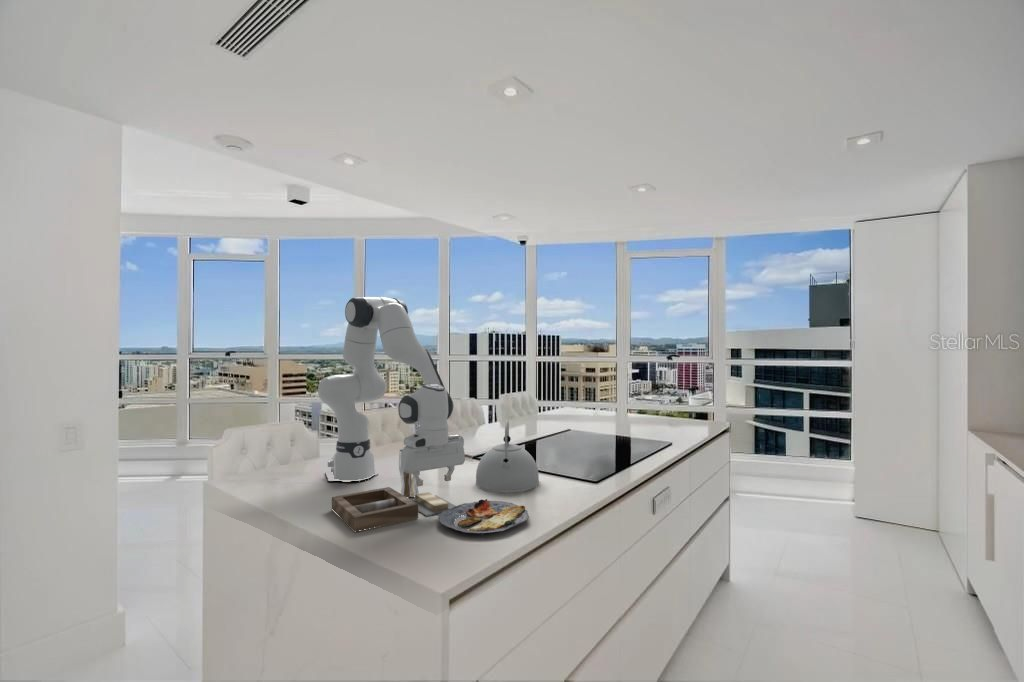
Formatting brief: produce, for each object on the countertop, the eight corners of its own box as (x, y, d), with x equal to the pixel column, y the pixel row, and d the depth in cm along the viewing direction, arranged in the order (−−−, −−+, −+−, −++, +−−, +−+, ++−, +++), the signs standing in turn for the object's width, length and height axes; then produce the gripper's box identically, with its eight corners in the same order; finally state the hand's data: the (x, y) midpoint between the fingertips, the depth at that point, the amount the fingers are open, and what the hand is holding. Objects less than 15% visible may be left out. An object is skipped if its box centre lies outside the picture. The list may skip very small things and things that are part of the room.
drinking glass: (399, 499, 158) (399, 452, 159) (398, 493, 165) (398, 448, 165) (421, 497, 160) (421, 451, 161) (419, 491, 167) (419, 447, 167)
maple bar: (415, 500, 156) (415, 494, 157) (428, 497, 159) (428, 491, 159) (434, 512, 145) (434, 505, 145) (448, 509, 148) (448, 503, 148)
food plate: (484, 501, 155) (483, 490, 155) (544, 518, 141) (544, 506, 141) (422, 526, 136) (422, 514, 136) (485, 549, 121) (485, 534, 121)
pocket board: (331, 510, 148) (331, 497, 148) (389, 499, 159) (389, 486, 159) (355, 532, 130) (355, 517, 130) (418, 518, 141) (418, 504, 141)
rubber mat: (404, 502, 155) (404, 501, 155) (435, 496, 162) (435, 495, 162) (426, 516, 142) (426, 515, 142) (459, 509, 149) (459, 507, 149)
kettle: (540, 494, 163) (539, 426, 164) (471, 494, 164) (471, 426, 164) (538, 475, 188) (537, 415, 188) (478, 475, 189) (478, 416, 189)
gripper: (458, 432, 159) (458, 475, 159) (398, 439, 147) (398, 486, 147) (468, 435, 154) (468, 479, 154) (407, 443, 142) (407, 491, 142)
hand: (433, 483), depth 150 cm, fingers open, 8 cm apart
